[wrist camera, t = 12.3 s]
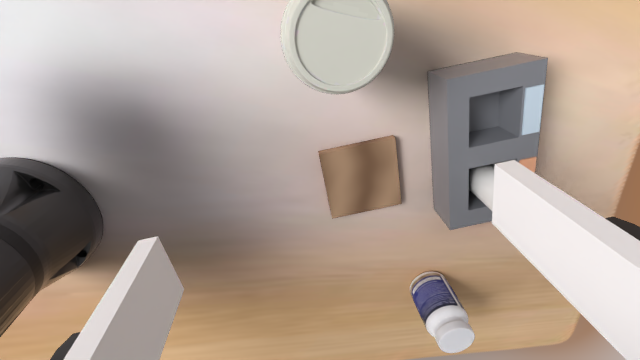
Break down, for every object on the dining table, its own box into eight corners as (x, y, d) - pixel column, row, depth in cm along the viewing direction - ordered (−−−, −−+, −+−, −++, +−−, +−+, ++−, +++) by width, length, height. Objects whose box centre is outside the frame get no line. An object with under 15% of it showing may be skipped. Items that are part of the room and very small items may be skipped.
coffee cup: (381, 28, 35) (424, 36, 25) (324, 90, 38) (341, 122, 27) (322, -41, 32) (341, -66, 22) (263, 31, 35) (254, 41, 24)
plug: (458, 188, 44) (515, 245, 33) (457, 159, 42) (517, 210, 31) (489, 181, 44) (556, 236, 33) (490, 152, 42) (560, 200, 31)
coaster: (331, 214, 45) (332, 218, 44) (318, 151, 41) (319, 154, 40) (399, 199, 45) (401, 203, 44) (392, 135, 41) (395, 138, 40)
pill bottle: (401, 292, 52) (425, 350, 43) (422, 264, 50) (452, 319, 41) (431, 302, 54) (461, 360, 45) (453, 276, 52) (488, 331, 43)
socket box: (433, 208, 46) (450, 230, 41) (427, 71, 38) (447, 80, 33) (508, 192, 46) (533, 213, 41) (518, 52, 38) (551, 57, 33)
